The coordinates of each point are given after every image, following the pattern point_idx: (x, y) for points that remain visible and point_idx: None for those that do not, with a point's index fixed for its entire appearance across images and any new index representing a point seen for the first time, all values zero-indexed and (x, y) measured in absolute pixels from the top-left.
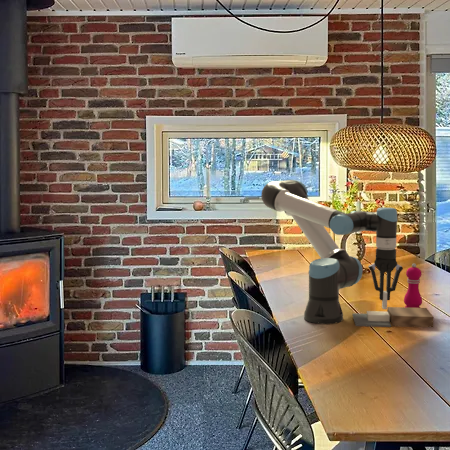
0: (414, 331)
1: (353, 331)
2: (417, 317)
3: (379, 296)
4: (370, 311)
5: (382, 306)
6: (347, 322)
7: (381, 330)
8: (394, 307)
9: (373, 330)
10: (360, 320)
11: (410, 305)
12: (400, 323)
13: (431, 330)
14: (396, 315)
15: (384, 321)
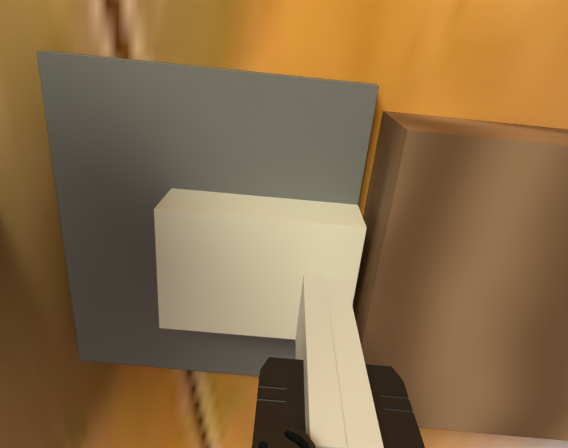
0: (441, 443)
1: (74, 436)
2: (542, 432)
3: (258, 391)
4: (192, 223)
5: (299, 319)
6: (22, 270)
7: (245, 424)
8: (484, 153)
9: (196, 423)
10: (114, 284)
11: None
12: None
13: None
14: None
15: None
